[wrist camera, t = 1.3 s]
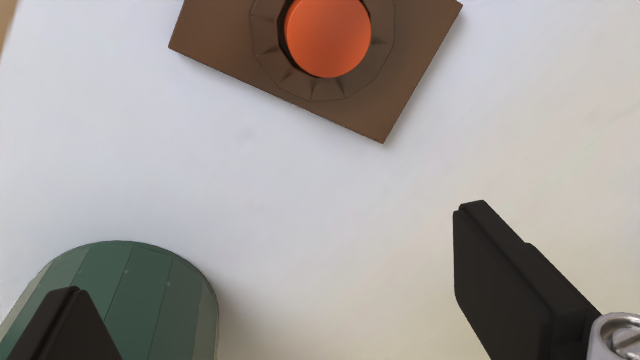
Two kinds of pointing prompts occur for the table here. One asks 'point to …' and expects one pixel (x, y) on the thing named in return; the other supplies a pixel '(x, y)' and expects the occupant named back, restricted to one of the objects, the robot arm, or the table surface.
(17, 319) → the tin
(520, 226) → the table surface
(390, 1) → the block
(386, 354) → the table surface
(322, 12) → the button
